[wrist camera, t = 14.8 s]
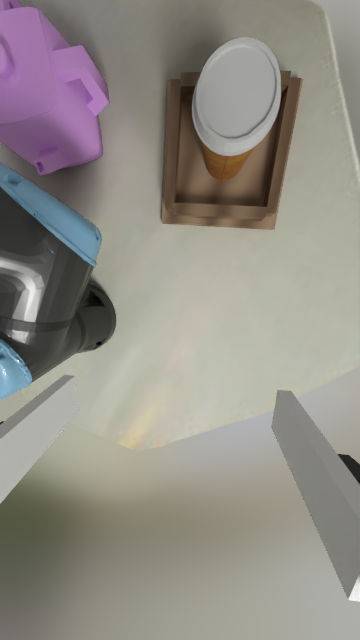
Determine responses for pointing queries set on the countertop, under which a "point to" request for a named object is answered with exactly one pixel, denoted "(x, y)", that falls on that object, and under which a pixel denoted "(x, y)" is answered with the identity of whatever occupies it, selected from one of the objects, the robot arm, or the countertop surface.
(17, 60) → the teakettle
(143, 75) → the countertop surface
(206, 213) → the cup caddy
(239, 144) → the disposable coffee cup
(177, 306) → the countertop surface
